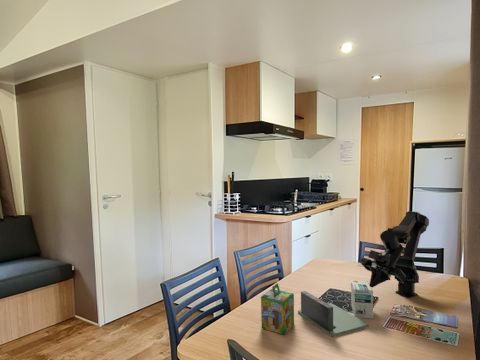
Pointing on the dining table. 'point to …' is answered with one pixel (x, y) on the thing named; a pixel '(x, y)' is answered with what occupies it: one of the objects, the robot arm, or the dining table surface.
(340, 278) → the dining table surface
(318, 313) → the bookend
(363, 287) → the light bulb box
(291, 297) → the chalk box
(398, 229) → the robot arm
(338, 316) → the shelf board
